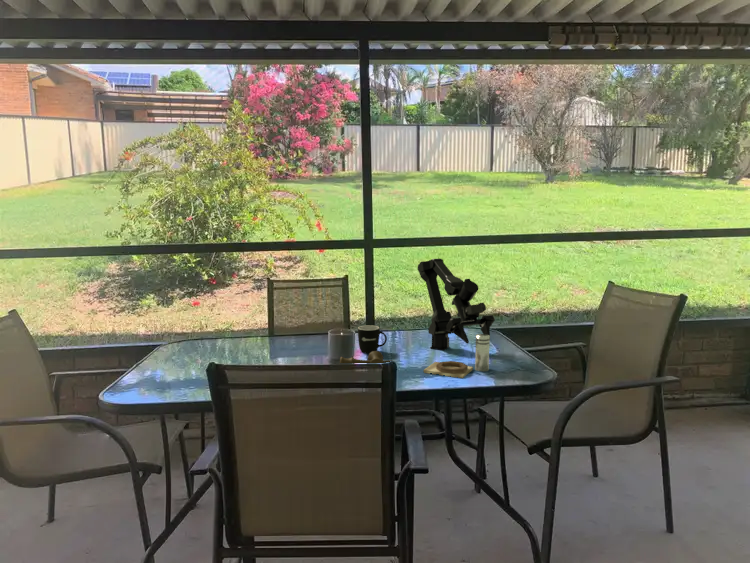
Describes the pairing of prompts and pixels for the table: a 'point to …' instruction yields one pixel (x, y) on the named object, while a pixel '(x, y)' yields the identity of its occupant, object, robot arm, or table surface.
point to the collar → (449, 369)
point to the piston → (482, 352)
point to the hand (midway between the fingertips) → (478, 341)
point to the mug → (369, 338)
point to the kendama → (372, 357)
